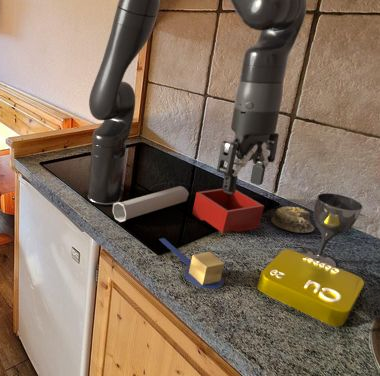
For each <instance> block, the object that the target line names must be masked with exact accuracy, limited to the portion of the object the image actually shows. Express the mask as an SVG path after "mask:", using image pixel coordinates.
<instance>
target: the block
mask: <svg viewBox="0 0 380 376" xmlns="http://www.w3.org/2000/svg"><path fill="white" fill-rule="evenodd" d="M190 261H191V265H190V269H189V273H190V274H191V275H192V276H193V277H194V278H195V279H196V280H197V281H199V282H200V283H201V284H202V285H205V284H209V283H214V282H218V281H220V279H221V276H222V274H223V271H224V267H225V262H224V261H222V260H221V259H220V258H219V257H217V256H216V255H215V254H213V253H212V252H211V251H205V252H201V253H197V254H192V256H191V260H190Z"/></svg>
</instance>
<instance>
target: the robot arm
mask: <svg viewBox="0 0 380 376" xmlns="http://www.w3.org/2000/svg"><path fill="white" fill-rule="evenodd" d="M229 1H230V3H231V6H232V7H233V9H234V11H235V13H236V16H237V17H238V19H240V21H241V22H242V23H243V24H244V25H245V26H247V27H248V28H249V29H251V30H254V31H260V34H259V37H258V40H257V42H256V43H255V44H254V45H251V46H250V47H248V48H247V49H246V50H245V51H244V54H243V58H242V63H241V70H240V76H239V81H238V86H237V88H236V93H235V98H234V105H233V110H232V111H233V112H232V117H231V118H232V119H231V125H230V129H231V131H233V132H234V134H235V135H234V139H233V141H227V140H222V142H221V145H220V150H219V156H218V160H217V166H216V172H218V173H221V174H223V176H224V177H223V184H222V188H223V191H224V192H225V193H228V194H234V193H235V190H237V184H238V183H237V182H238V178H239V177H238V175H239V173H240V171H241V169H242V168H245V167H246V166H247V164H248V163H249V162H250V161H252V162H253V165H252V169H251V174H250V183H251V184H253V185H256V186H261V185H262V184H263V182H264V178H265V172H266V168H267V167H268V166H269V164H270V163H274V162H275V160H276V156H277V155H276V154H277V148H278V144H279V143H278V141H279V137H280V136H279V133H278V132H276V130H277V125H278V121H279V115H280V111H281V105H282V101H283V94H284V81H285V77H286V71H287V66H288V61H289V60H288V59H289V56H290V53H291V51H292V50H293V48H294V46H295V44H296V40H297V38H298V36H299V34H300V32H301V29H302V26H303V24H304V21H305V18H306V14H307V7H308V6H307V4H308V3H307V0H229ZM160 6H161V0H118V3H117V6H116V9H115V14H114V17H113V21H112V26H111V30H110V34H109V37H108V40H107V43H106V47H105V50H104V54H103V57H102V61H101V63H100V66H99V69H98V71H97V74H96V76H95V78H94V79H95V80H94V82H93V85H92V87H91V90H90V94H89V99H88V107H89V112H90V114H91V116H92V117H93V118H94V119H96V120H98V121H103V122H102V123H101V124H100V125H99V126H98V127H97V128H96V129H94V131H92V132H93V133H92V141H91V152H90V154H91V155H90V163H89V164H90V165H89V170H88V171H89V172H88V185H87V186H88V187H87V199H88V201H89V202H91V203H92V204H95V205H98V206H104V207H105V206H109V207H110V206H113V204H115V203H118V202H121V195H122V191H123V190H122V184H123V177H124V176H123V175H124V167H125V158H126V150H127V141H128V138H129V136H130V134H131V131H132V127H133V121H134V115H135V109H136V93H135V90H134V88H133V87H132V85H131V84H130V83H129V82H126V81H123V79H124V77H125V74H126V72H127V71H128V68H129V66H130V65H131V64H132V62H133V61H134V60H135V59H136V57H137V56H138V55H139V53H141V51H142V49H143V48H144V47H145V45H147V43H148V41H149V39H150V37H151V34H152V33H153V29H154V26H155V24H156V21H157V18H158V14H159V11H160ZM268 151H269V152H268ZM225 162H226V163H225ZM234 166H235V167H234Z"/></svg>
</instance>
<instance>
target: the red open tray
mask: <svg viewBox="0 0 380 376" xmlns="http://www.w3.org/2000/svg"><path fill="white" fill-rule="evenodd" d="M264 210H265V205H264V204H262V203H260V202H258V201H257V200H255V199H253V198H251V197H250V196H248V195H246V194H244V193H242V192H241V191H239V190H238V189H235V193H234V194H228V193H225V192H224V191H223V187H222V188H217V189H210V190H203V191H197V192H195V198H194V204H193V208H192V211H191V214H192V215H193V216H194V217H196V218H197V219H199V221H205V222H206V223H207V224H209V225H211V226H212V227H213V228H215V230H218V231H219V232H220V233H221V234H224V233H230V232H236V233H242V232H246V231H253V230H257V229H259V226H260V223H261V220H262V216H263V212H264Z"/></svg>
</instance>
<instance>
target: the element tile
mask: <svg viewBox="0 0 380 376" xmlns="http://www.w3.org/2000/svg"><path fill="white" fill-rule="evenodd" d="M256 286H257V289H258V291H259V292H261V293H262V294H264V295H266V296H268V297H270V298H273V300H274V299H275V300H276V301H279V302H280V303H282V304H285V305H287V306H289V307H291V308H293V309H295V310H298V311H299V312H302V313H303V314H306V315H307V316H310V317H312V318H314V319H316V320H318V321H320V322H322V323H324V324H326V325H329V326H332V327H342V326H344V324H345V323H346V321H347V319H348V317H349V316H350V313H351V312H352V311H353V308H354V306H355V305H356V303H357V301H358V299H359V297H360V295H361V293H362V291H363V287H364V286H365V281H364V280H363V278H362V277H361V276H358V275H357V274H354V273H352V272H349V271H346V270H345V269H342V268H339V267H337V266H336V267H334V266H332V265H329V264H327V263H324V262H322V261H319V260H317V259H314V258H311V257H309V256H306V255H304V254H301V252H299V251H296V250H292V249H290V248H286V249H282V250H281V251H280V252H279V253H278V254H277V255H276V256H274V258H273V259H272V260H271V261H270V262H269V263H268V264H267V265H266V266H265V267H264V268H263V269H262V270H261V273H260V276H259V279H258V282H257V285H256Z"/></svg>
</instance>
